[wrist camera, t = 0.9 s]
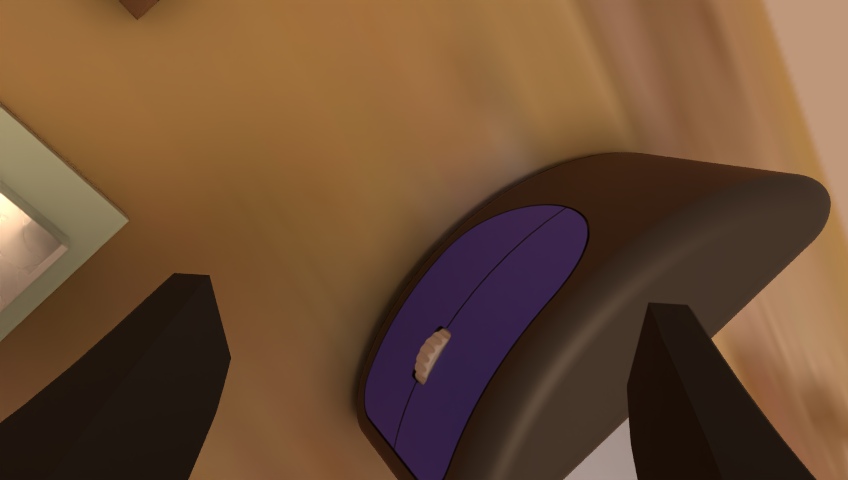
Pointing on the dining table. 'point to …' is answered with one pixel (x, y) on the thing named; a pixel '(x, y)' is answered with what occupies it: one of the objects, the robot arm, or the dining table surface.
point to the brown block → (138, 6)
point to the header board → (43, 221)
